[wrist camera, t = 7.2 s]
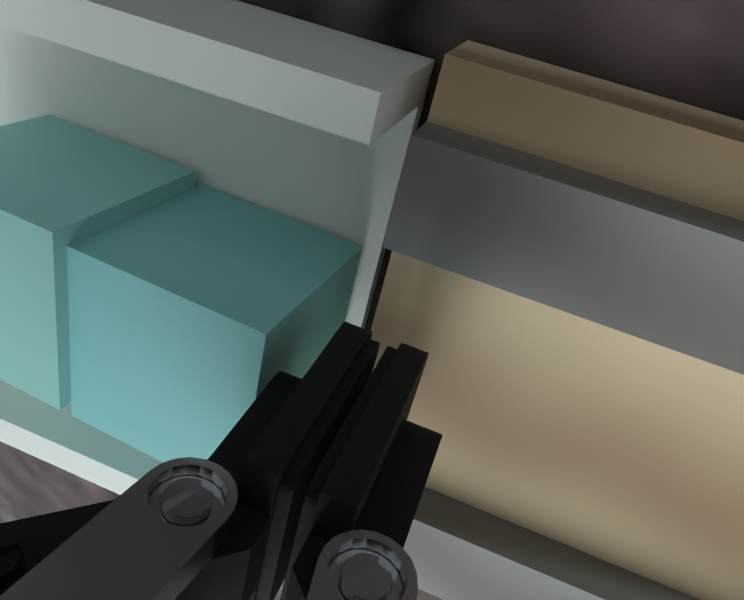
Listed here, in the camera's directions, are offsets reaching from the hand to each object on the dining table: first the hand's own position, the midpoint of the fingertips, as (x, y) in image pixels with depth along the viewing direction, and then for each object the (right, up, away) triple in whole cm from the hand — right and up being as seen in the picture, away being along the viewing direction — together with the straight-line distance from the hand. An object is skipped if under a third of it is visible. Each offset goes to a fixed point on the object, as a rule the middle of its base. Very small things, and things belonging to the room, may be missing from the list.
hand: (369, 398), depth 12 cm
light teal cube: (-6, +4, +3) cm, 8 cm away
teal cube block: (-2, +2, +3) cm, 4 cm away
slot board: (+6, 0, +2) cm, 6 cm away
